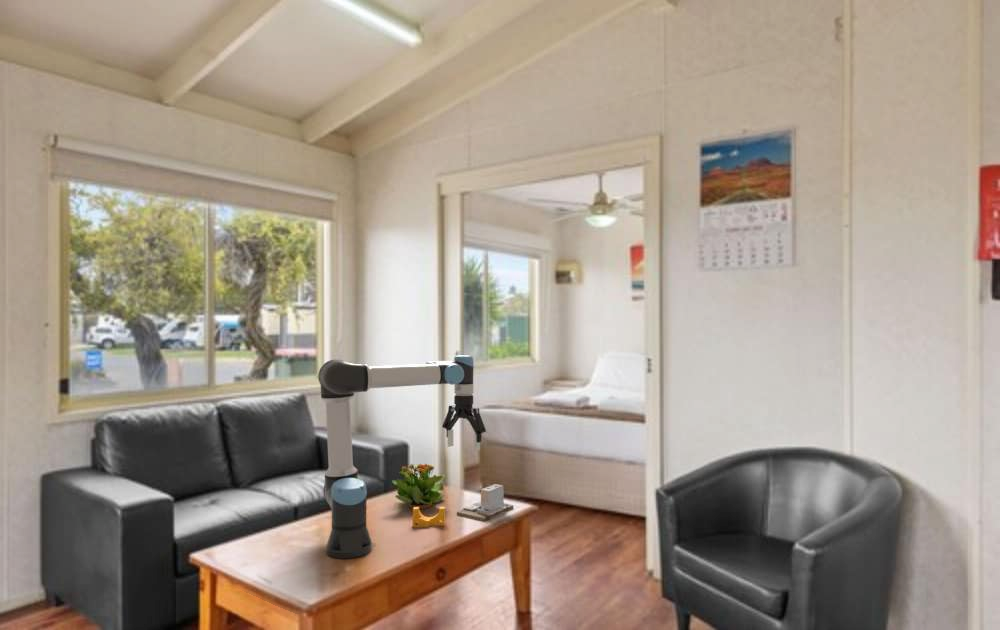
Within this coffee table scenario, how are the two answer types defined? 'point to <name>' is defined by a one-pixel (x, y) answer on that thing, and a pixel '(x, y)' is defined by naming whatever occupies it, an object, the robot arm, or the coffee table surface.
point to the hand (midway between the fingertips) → (463, 448)
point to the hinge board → (472, 513)
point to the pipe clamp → (428, 518)
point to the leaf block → (492, 498)
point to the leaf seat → (492, 512)
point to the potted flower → (419, 487)
